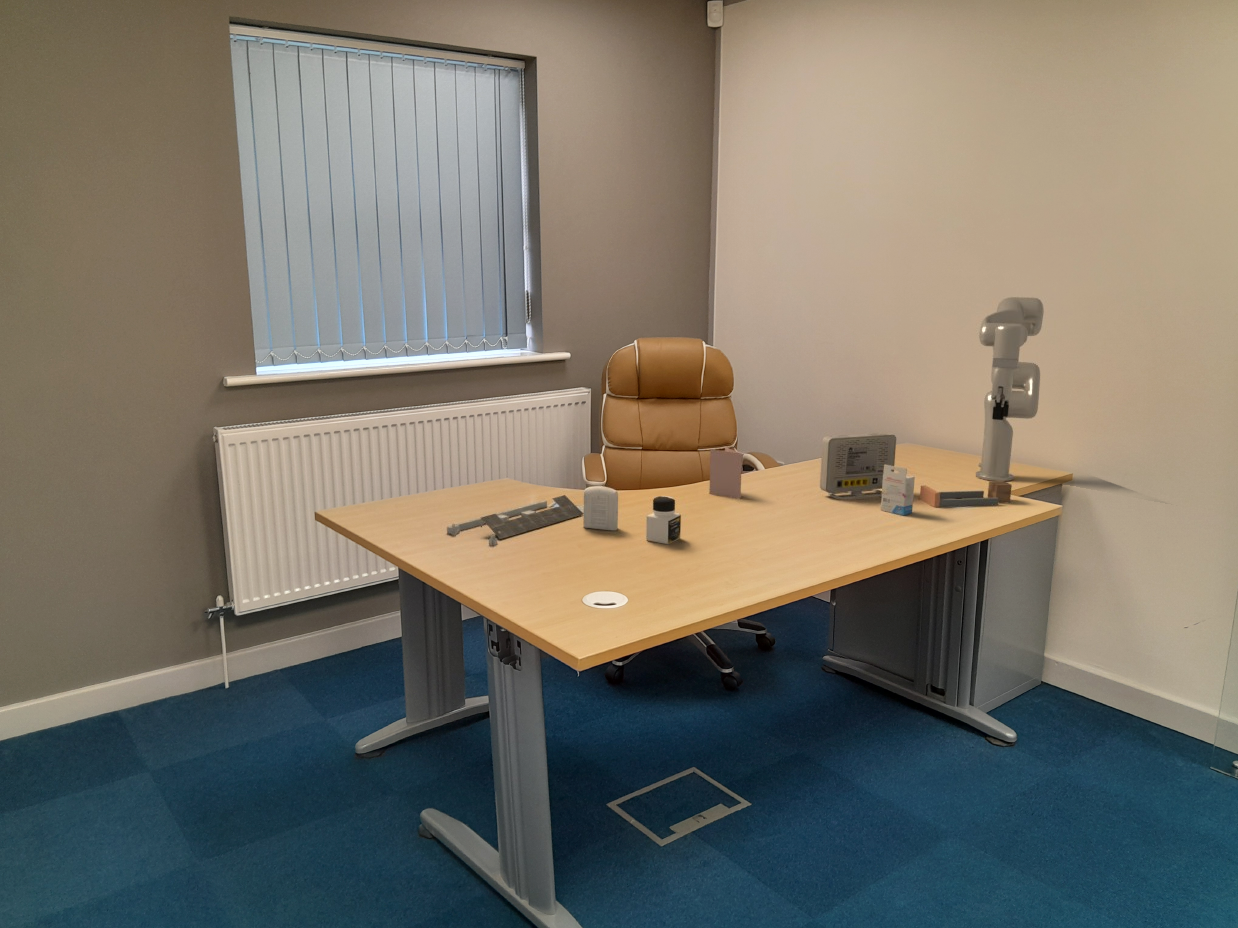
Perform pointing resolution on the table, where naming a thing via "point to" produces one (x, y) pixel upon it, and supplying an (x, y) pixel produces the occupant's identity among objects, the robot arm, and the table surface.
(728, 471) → the greeting card
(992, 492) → the block
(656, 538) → the medicine bottle
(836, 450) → the network device
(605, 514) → the gravestone
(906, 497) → the ink box
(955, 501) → the guide channel
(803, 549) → the table surface
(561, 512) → the paper cutter
